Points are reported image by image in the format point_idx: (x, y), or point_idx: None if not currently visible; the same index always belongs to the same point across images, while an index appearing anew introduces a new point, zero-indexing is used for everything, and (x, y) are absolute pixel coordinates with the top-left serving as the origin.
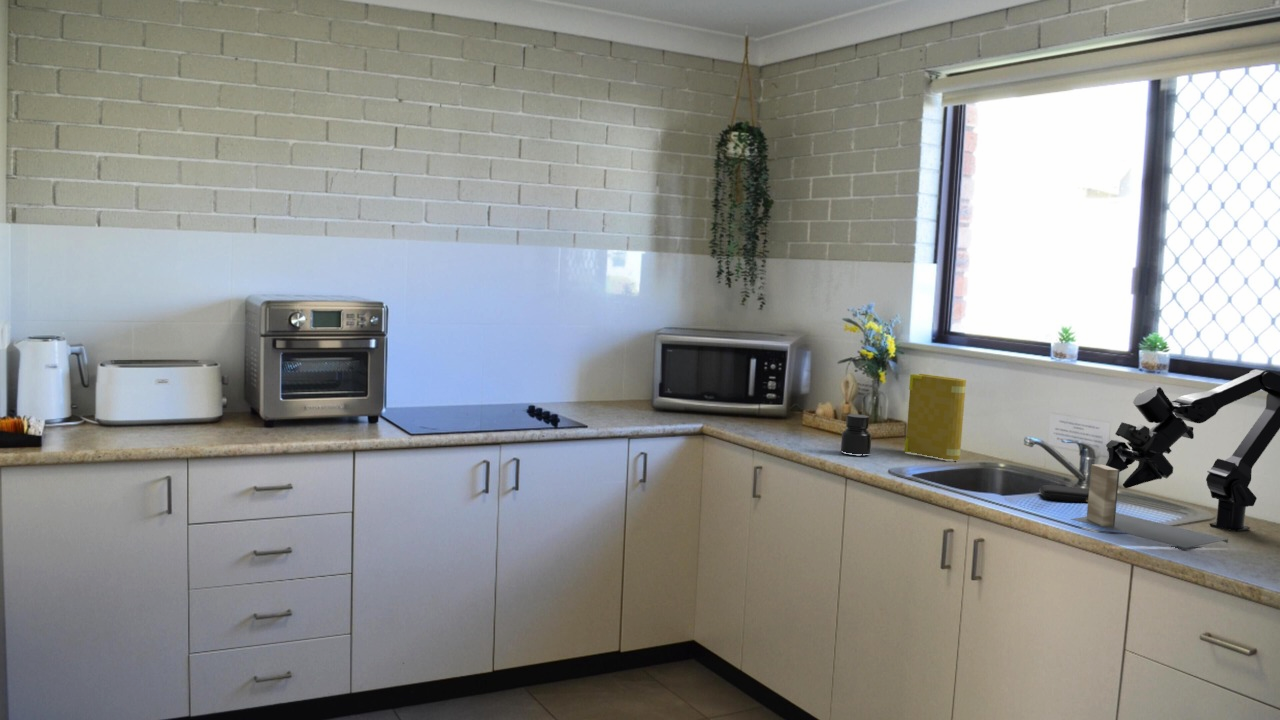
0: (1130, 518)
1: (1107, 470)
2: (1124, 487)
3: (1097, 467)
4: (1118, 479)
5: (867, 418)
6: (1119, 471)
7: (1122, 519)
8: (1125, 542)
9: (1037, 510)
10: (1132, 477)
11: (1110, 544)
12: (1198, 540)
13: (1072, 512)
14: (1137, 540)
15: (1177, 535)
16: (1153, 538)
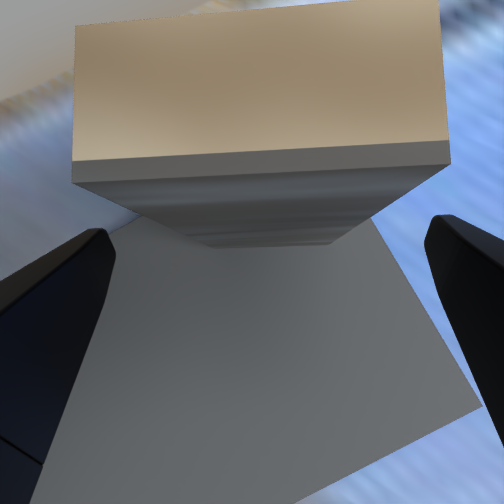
0: (361, 410)
1: (79, 33)
2: (108, 245)
3: (290, 19)
4: (128, 206)
5: None
6: (80, 186)
7: (335, 356)
8: (30, 180)
9: (501, 76)
10: (4, 285)
11: (5, 112)
12: None
13: (489, 219)
14: (56, 242)
15: (85, 434)
16: None
